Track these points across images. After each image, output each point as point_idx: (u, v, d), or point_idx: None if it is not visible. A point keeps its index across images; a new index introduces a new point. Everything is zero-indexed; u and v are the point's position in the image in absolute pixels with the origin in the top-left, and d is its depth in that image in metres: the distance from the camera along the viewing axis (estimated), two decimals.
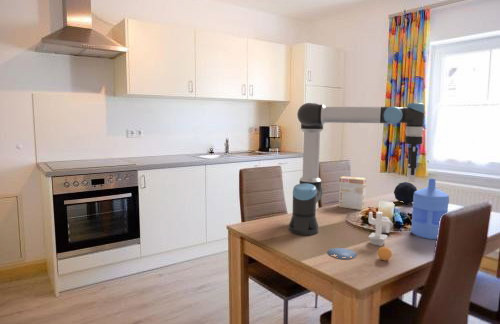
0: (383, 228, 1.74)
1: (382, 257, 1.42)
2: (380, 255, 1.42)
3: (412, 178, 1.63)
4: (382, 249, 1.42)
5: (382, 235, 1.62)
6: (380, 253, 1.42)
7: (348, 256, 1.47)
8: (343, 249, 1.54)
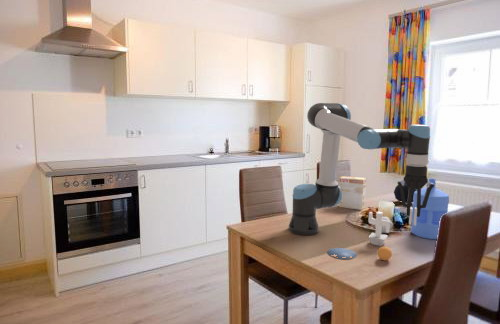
0: (383, 228, 1.74)
1: (382, 257, 1.42)
2: (380, 255, 1.42)
3: None
4: (382, 249, 1.42)
5: (382, 235, 1.62)
6: (380, 253, 1.42)
7: (348, 256, 1.47)
8: (343, 249, 1.54)
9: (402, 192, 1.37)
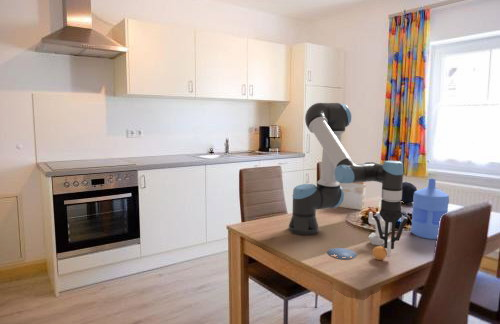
0: (383, 228, 1.74)
1: (378, 257, 1.42)
2: (375, 256, 1.43)
3: (390, 251, 1.43)
4: (375, 249, 1.43)
5: None
6: (375, 254, 1.43)
7: (348, 256, 1.47)
8: (343, 249, 1.54)
9: (379, 226, 1.42)
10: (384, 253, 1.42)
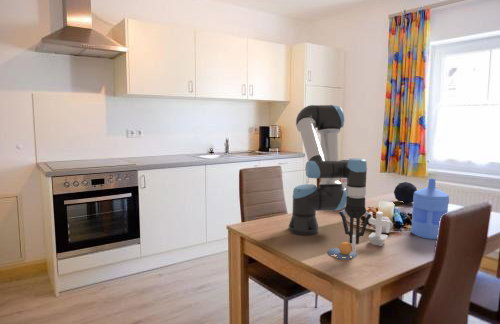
0: (383, 228, 1.74)
1: (347, 251, 1.46)
2: (346, 253, 1.47)
3: (355, 246, 1.48)
4: (341, 252, 1.48)
5: (382, 235, 1.62)
6: (344, 254, 1.47)
7: (348, 256, 1.47)
8: None
9: (344, 221, 1.47)
10: (343, 245, 1.47)
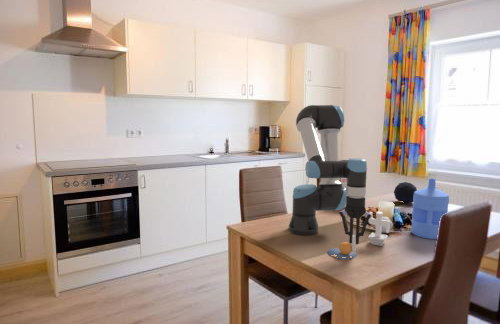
0: (383, 228, 1.74)
1: (347, 251, 1.46)
2: (346, 253, 1.47)
3: (355, 246, 1.48)
4: (340, 252, 1.48)
5: (382, 235, 1.62)
6: (344, 254, 1.47)
7: (348, 256, 1.47)
8: None
9: (344, 221, 1.47)
10: (342, 245, 1.47)
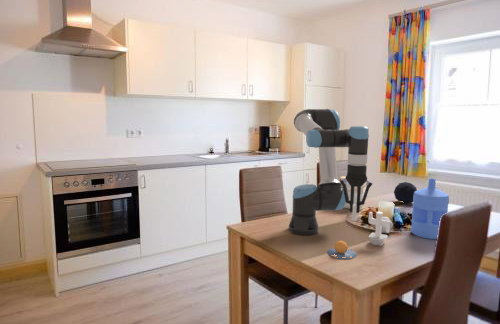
0: (383, 228, 1.74)
1: (342, 247, 1.47)
2: (343, 249, 1.47)
3: (356, 215, 1.46)
4: (339, 253, 1.49)
5: (382, 235, 1.62)
6: (342, 251, 1.48)
7: (348, 256, 1.47)
8: None
9: (345, 190, 1.45)
10: (336, 245, 1.49)
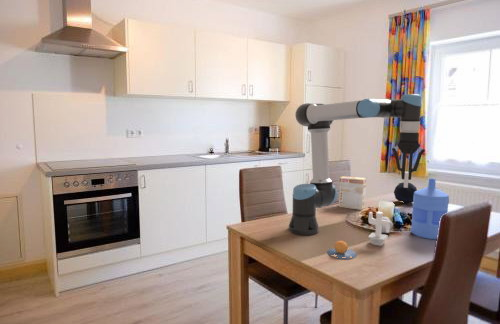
0: (383, 228, 1.74)
1: (342, 247, 1.47)
2: (343, 249, 1.47)
3: (407, 182, 1.49)
4: (339, 253, 1.49)
5: (382, 235, 1.62)
6: (342, 251, 1.48)
7: (348, 256, 1.47)
8: None
9: (397, 157, 1.48)
10: (336, 245, 1.49)
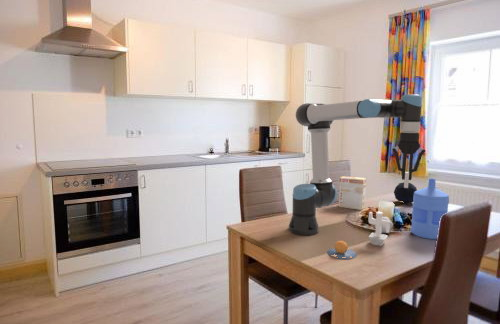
0: (383, 228, 1.74)
1: (342, 247, 1.47)
2: (343, 249, 1.47)
3: None
4: (339, 253, 1.49)
5: (382, 235, 1.62)
6: (342, 251, 1.48)
7: (348, 256, 1.47)
8: None
9: (397, 158, 1.49)
10: (336, 245, 1.49)
